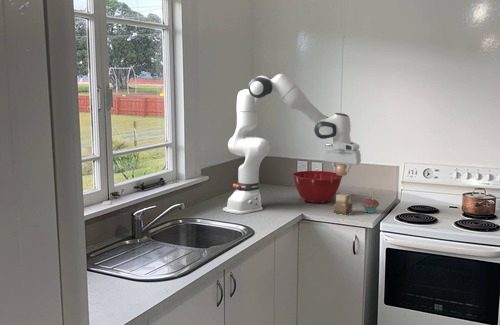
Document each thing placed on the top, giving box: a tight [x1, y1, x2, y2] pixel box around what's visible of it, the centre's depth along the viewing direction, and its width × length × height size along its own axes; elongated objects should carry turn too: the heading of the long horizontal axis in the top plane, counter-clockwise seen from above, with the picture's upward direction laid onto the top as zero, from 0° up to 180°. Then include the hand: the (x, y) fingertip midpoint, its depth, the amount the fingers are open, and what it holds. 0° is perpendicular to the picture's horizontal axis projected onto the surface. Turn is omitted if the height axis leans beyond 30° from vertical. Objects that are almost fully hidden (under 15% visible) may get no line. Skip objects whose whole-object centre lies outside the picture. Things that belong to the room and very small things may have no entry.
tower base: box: [333, 203, 353, 216], centre depth 269 cm, size 7×7×5 cm
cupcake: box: [361, 190, 380, 214], centre depth 271 cm, size 9×8×12 cm
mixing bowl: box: [292, 170, 344, 204], centre depth 297 cm, size 28×28×15 cm
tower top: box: [335, 192, 352, 206], centre depth 269 cm, size 6×6×5 cm
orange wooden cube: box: [336, 163, 348, 177], centre depth 266 cm, size 5×5×5 cm
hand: (341, 171), depth 266 cm, fingers closed on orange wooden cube, 5 cm apart
